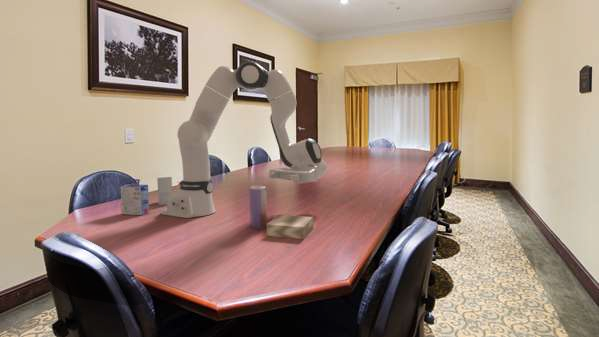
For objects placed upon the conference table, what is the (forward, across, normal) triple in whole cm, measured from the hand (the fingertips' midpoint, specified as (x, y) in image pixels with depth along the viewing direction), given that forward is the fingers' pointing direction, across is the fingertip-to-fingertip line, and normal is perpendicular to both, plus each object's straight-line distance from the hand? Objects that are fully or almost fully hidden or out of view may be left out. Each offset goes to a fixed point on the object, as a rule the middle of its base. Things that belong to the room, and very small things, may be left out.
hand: (279, 177), depth 140 cm
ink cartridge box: (+28, -57, +16) cm, 65 cm away
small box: (+9, -64, +16) cm, 66 cm away
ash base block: (+10, +12, +17) cm, 23 cm away
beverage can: (+12, 0, +17) cm, 21 cm away
